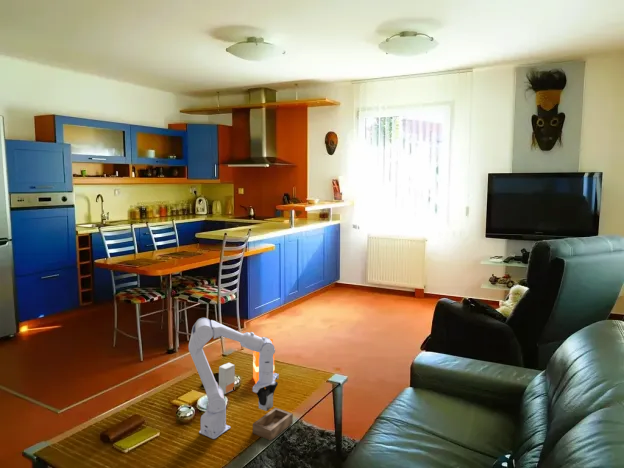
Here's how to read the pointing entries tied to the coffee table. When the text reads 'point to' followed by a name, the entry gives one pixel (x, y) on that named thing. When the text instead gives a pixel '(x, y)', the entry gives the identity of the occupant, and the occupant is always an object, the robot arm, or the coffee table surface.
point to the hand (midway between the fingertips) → (266, 402)
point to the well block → (272, 423)
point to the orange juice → (257, 365)
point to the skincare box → (227, 377)
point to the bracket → (267, 401)
